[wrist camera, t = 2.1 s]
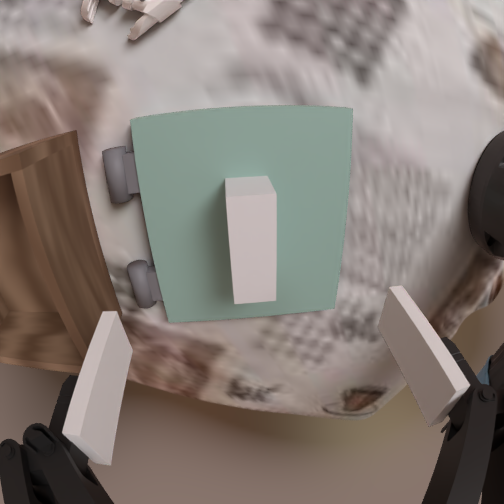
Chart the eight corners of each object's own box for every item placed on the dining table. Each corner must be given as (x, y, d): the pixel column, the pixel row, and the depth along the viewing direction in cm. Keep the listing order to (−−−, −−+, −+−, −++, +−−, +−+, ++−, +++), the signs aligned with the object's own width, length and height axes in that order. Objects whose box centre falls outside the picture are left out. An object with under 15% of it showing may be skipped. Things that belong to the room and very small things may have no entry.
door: (344, 107, 21) (378, 114, 16) (329, 298, 30) (347, 337, 25) (103, 123, 20) (71, 135, 15) (144, 312, 29) (134, 354, 24)
